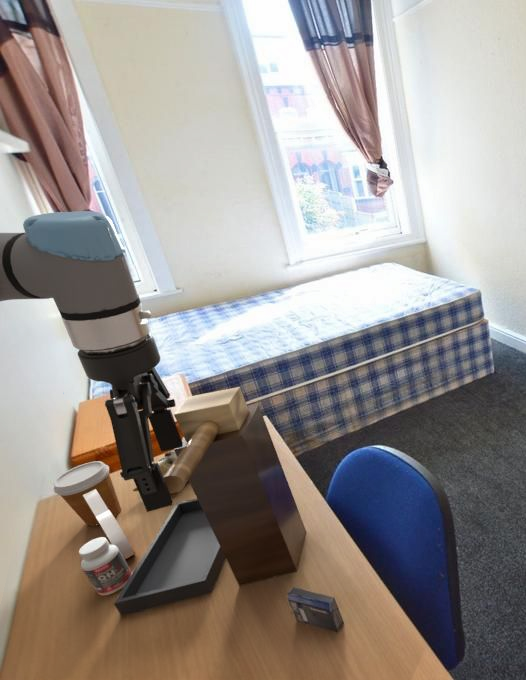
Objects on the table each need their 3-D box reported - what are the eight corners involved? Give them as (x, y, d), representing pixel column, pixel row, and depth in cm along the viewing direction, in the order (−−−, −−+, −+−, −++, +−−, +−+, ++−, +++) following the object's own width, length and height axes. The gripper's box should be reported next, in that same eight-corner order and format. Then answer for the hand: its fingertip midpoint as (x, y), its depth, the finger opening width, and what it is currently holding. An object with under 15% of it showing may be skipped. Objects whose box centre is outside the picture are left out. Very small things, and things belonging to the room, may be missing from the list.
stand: (297, 571, 86) (242, 435, 74) (239, 586, 84) (173, 449, 72) (306, 531, 95) (258, 404, 83) (254, 544, 93) (198, 417, 82)
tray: (211, 592, 84) (205, 580, 82) (121, 616, 81) (113, 603, 80) (251, 497, 107) (246, 486, 106) (182, 513, 104) (176, 502, 103)
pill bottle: (111, 599, 85) (85, 560, 81) (91, 593, 86) (65, 554, 83) (140, 574, 89) (117, 536, 86) (121, 569, 91) (98, 531, 87)
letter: (140, 561, 92) (118, 523, 88) (127, 569, 91) (104, 530, 87) (111, 517, 106) (91, 482, 102) (99, 523, 104) (78, 488, 100)
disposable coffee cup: (68, 527, 104) (41, 484, 99) (114, 497, 112) (91, 457, 107) (92, 536, 100) (65, 492, 96) (138, 505, 108) (116, 463, 104)
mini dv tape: (296, 620, 77) (285, 595, 74) (303, 612, 78) (292, 587, 75) (338, 632, 74) (328, 606, 72) (344, 623, 75) (334, 597, 73)
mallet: (208, 485, 63) (194, 455, 61) (143, 500, 62) (126, 469, 60) (249, 411, 81) (239, 386, 79) (200, 421, 80) (188, 396, 78)
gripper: (134, 379, 49) (190, 526, 58) (164, 304, 69) (202, 422, 78) (41, 396, 46) (115, 549, 55) (101, 312, 66) (148, 434, 75)
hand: (166, 475), depth 67 cm, fingers open, 13 cm apart
